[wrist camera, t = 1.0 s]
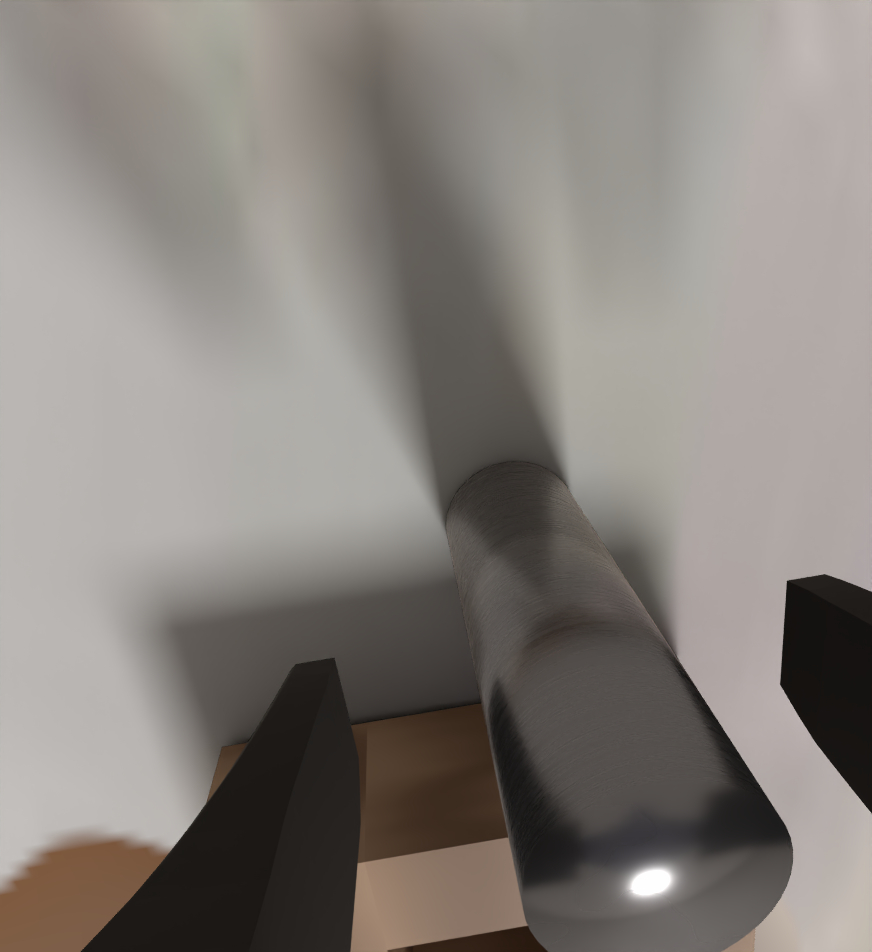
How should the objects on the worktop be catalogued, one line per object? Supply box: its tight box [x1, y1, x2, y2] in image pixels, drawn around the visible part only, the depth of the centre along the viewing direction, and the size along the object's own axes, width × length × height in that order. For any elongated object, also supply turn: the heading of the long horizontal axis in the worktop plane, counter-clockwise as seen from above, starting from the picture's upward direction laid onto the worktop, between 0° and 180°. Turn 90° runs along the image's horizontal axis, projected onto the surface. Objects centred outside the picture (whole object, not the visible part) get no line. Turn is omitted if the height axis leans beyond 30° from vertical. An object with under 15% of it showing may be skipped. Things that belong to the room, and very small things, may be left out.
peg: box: [446, 462, 793, 952], centre depth 12 cm, size 3×3×9 cm
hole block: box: [207, 703, 755, 952], centre depth 18 cm, size 12×10×4 cm
